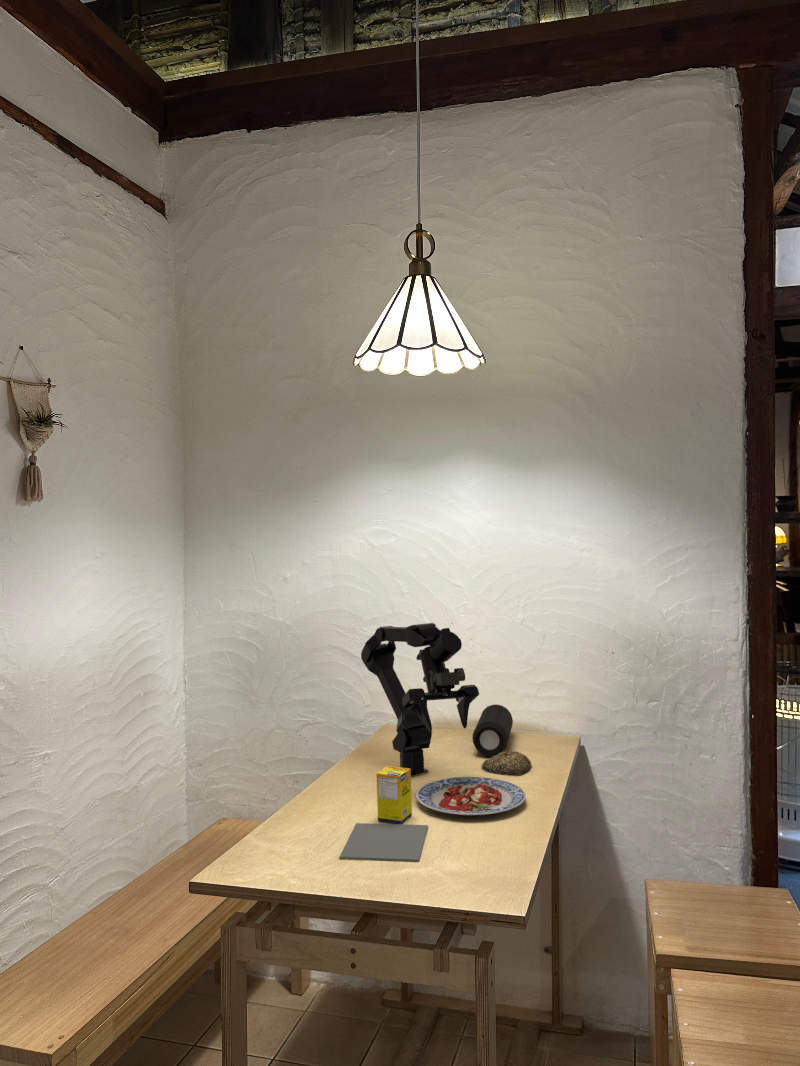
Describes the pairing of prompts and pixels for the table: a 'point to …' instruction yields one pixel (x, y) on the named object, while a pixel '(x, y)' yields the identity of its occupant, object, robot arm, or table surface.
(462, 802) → the ceramic plate
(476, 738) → the portable speaker
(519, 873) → the table surface
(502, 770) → the bread roll
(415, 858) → the rubber mat
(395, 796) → the supplement box
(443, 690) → the robot arm
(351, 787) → the table surface
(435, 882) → the table surface
